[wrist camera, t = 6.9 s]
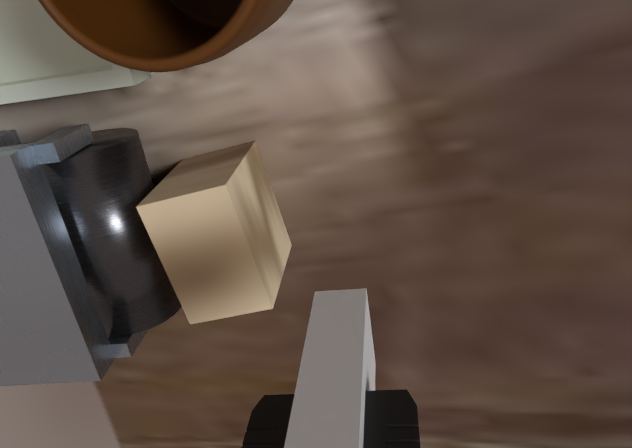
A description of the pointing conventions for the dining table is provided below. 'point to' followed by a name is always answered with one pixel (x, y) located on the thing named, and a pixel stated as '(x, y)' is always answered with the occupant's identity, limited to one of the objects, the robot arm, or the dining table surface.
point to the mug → (163, 28)
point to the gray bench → (75, 255)
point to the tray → (49, 58)
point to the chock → (219, 233)
